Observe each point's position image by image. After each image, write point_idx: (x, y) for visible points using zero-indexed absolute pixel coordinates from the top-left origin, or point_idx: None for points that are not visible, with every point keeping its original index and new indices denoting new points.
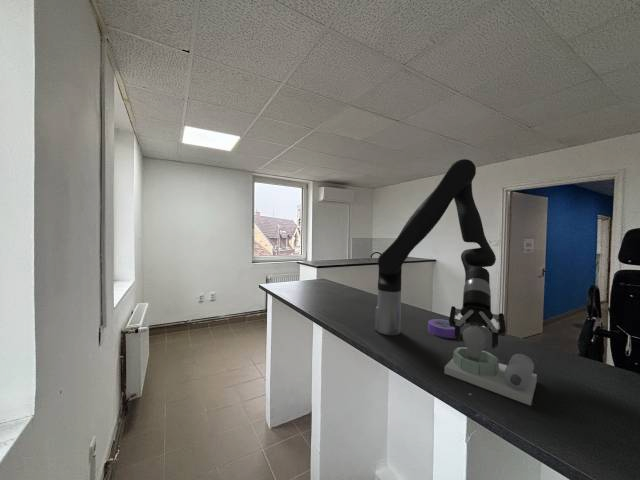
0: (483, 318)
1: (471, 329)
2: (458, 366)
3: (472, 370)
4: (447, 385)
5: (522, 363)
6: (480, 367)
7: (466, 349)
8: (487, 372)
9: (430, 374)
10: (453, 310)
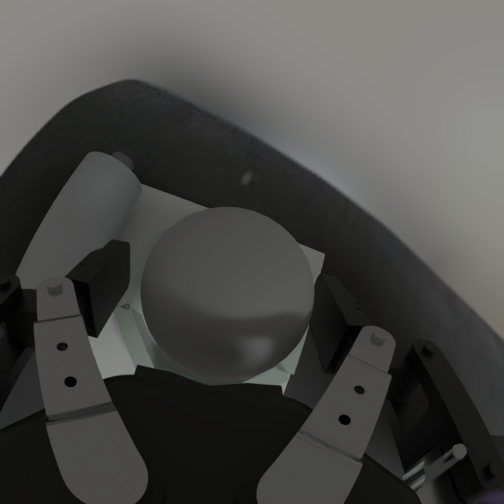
0: (99, 388)
1: (267, 234)
2: None
3: None
4: (301, 197)
5: (54, 211)
6: None
7: (249, 378)
8: None
9: (349, 239)
10: (476, 446)
